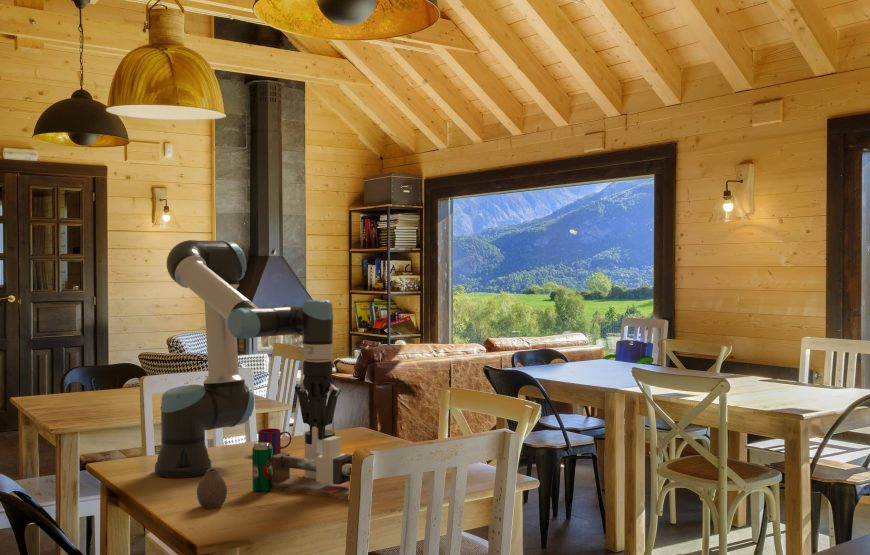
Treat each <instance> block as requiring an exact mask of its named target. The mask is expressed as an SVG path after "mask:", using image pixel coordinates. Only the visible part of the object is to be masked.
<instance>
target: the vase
mask: <svg viewBox="0 0 870 555" xmlns="http://www.w3.org/2000/svg"><path fill="white" fill-rule="evenodd" d="M227 489H228V488H227V484H226V481H225V479H224V478H223V476H221V474H220V473H219V471H218V470H217V469H216V468H211V469H209V470H207V471H206V473H205V474H203V476H202V478H201V479H200V481H199V482H198V485H197V488H196V499H197V501H198V503H199V506H201V507H202V508H203V509H206V510H213V509H214V510H215V509H219V508H221V507H222V505H224V503H225V501H226V500H227V494H228V490H227Z"/></svg>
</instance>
